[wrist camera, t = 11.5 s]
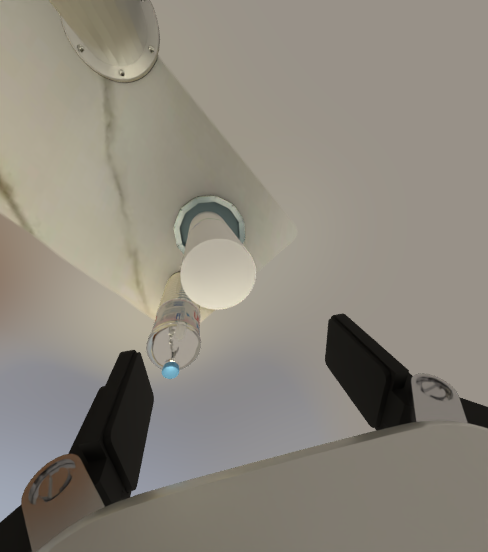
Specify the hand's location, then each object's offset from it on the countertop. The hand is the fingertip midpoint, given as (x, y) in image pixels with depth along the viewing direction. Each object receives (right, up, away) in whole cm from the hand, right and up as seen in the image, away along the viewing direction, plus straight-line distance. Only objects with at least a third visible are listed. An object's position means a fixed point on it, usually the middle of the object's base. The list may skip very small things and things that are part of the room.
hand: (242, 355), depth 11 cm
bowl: (-7, +13, +34) cm, 37 cm away
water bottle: (-13, +2, +38) cm, 40 cm away
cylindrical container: (-7, +13, +33) cm, 36 cm away
